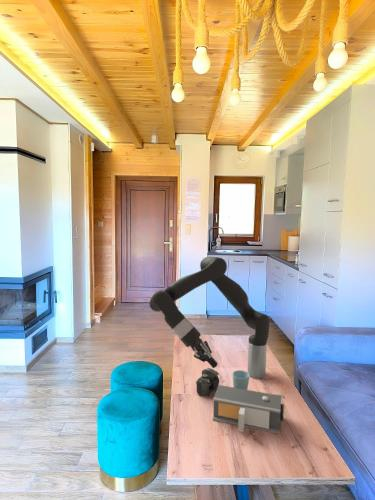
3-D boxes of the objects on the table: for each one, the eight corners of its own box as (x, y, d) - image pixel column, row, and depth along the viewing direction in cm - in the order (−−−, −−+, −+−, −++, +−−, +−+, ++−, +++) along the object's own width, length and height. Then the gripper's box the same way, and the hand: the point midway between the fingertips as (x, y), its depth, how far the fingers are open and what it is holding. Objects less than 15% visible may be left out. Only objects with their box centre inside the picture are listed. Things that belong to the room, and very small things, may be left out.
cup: (235, 401, 141) (236, 379, 140) (229, 392, 149) (230, 371, 148) (251, 399, 143) (252, 377, 142) (244, 390, 150) (245, 369, 149)
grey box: (218, 404, 139) (219, 383, 138) (283, 417, 130) (284, 394, 129) (212, 420, 128) (213, 397, 127) (282, 434, 120) (283, 410, 119)
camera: (216, 398, 143) (216, 377, 142) (195, 395, 146) (195, 375, 145) (220, 384, 156) (220, 364, 155) (200, 381, 159) (201, 362, 158)
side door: (240, 421, 126) (240, 405, 125) (268, 427, 122) (269, 410, 121) (238, 431, 120) (238, 413, 119) (267, 437, 117) (268, 419, 116)
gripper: (187, 332, 119) (219, 368, 116) (197, 321, 131) (225, 353, 129) (174, 343, 121) (204, 379, 119) (185, 332, 134) (212, 364, 131)
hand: (215, 366), depth 124 cm, fingers closed
